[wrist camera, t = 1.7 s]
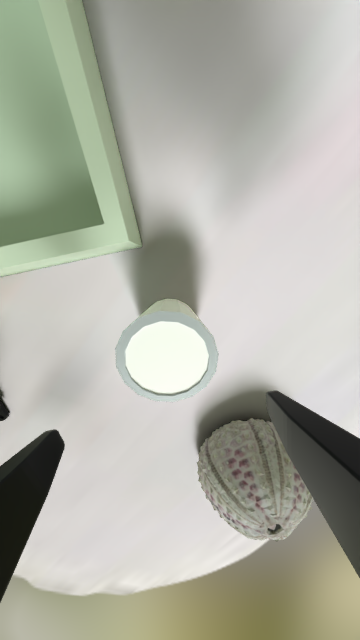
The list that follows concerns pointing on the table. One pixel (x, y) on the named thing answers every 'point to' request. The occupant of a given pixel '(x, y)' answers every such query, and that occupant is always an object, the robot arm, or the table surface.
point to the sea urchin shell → (253, 480)
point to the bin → (56, 143)
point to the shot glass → (167, 353)
